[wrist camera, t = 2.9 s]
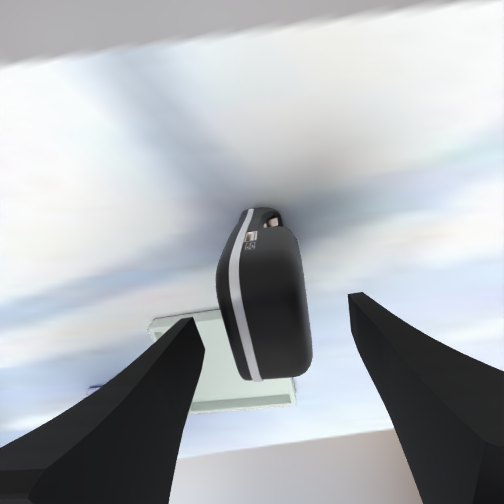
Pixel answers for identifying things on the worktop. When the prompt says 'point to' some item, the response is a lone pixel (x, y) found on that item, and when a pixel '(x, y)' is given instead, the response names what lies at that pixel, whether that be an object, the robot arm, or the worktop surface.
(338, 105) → the worktop surface
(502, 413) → the robot arm
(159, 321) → the tray
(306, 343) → the battery charger
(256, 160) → the worktop surface
